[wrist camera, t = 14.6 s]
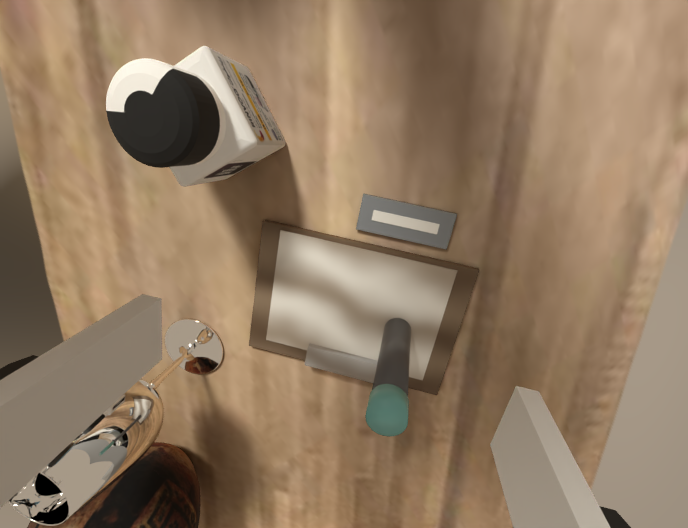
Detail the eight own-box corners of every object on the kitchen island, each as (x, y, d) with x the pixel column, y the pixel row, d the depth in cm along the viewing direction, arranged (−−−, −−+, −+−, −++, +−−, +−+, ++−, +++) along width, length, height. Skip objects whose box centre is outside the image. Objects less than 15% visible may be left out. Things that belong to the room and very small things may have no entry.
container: (288, 145, 34) (223, 143, 22) (224, 180, 36) (133, 197, 24) (248, 65, 33) (155, 16, 20) (184, 107, 35) (65, 85, 23)
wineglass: (164, 311, 43) (-27, 440, 24) (225, 324, 42) (78, 468, 23) (166, 366, 45) (-5, 522, 26) (224, 379, 44) (90, 549, 25)
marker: (380, 318, 37) (361, 402, 25) (409, 315, 37) (403, 400, 25) (386, 343, 38) (370, 436, 26) (414, 341, 37) (411, 435, 25)
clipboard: (265, 219, 37) (259, 223, 35) (478, 268, 35) (481, 273, 33) (251, 343, 42) (245, 350, 40) (436, 391, 40) (437, 401, 38)
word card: (363, 193, 34) (363, 194, 34) (456, 213, 34) (457, 214, 33) (356, 228, 36) (356, 229, 35) (446, 248, 35) (446, 249, 34)
